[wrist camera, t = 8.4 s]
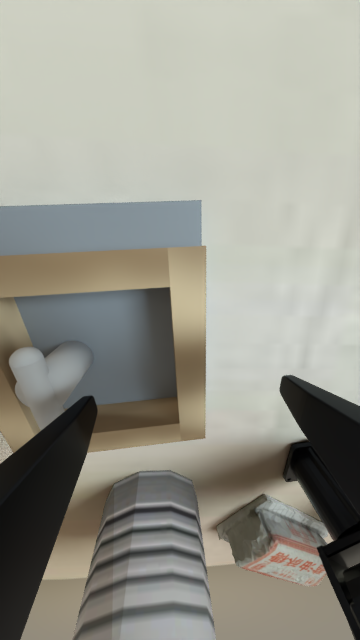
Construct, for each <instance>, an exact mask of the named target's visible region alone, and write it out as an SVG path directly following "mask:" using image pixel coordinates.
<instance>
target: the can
mask: <svg viewBox="0 0 360 640" xmlns="http://www.w3.org/2000/svg"><path fill="white" fill-rule="evenodd" d="M73 640H216V637H215V629H214V621H213V614H212V606H211V599H210V592H209V584H208V577H207V570H206V562H205V554H204V547H203V540H202V532H201V525H200V517H199V510H198V502H197V495H196V492H195V489H194V486H193V483H192V480H190V479H188V478H186V477H184V476H181V475H179V474H177V473H175V472H173V471H170V470H166V471H139V472H137V473H135V474H133V475H131V476H129V477H127V478H125V479H123V480H121V481H119V482H117V483H115V484H114V485H113V488H112V490H111V492H110V494H109V496H108V498H107V500H106V503H105V507H104V511H103V515H102V520H101V524H100V528H99V532H98V536H97V540H96V545H95V549H94V553H93V557H92V561H91V565H90V569H89V574H88V578H87V582H86V586H85V590H84V595H83V598H82V603H81V607H80V611H79V615H78V620H77V623H76V628H75V632H74V636H73Z"/></svg>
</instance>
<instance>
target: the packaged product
mask: <svg viewBox="0 0 360 640" xmlns="http://www.w3.org/2000/svg"><path fill="white" fill-rule="evenodd" d="M217 531H218V536H219V540H220V539H224V540H225V541H227V542H229V543H230V546H231V548H232V555H233V557H234V559H235V563H236V565H237V566H238V567H241V568H243V569H246V570H249V571H253V572H257V573H260V574H263V575H266V576H271V577H274V578H277V579H282V580H286V581H289V582H292V583H296V584H300V585H304V586H317V584H319V583H321V581H322V579H323V577H324V576H325V575H326V574H327V573H326V571H325V569H324V567H323V564H322V561H321V559H320V557H319V553H318V550H317V547H319V546H321V545H322V546H325V545H327V543H326V542H325V540H324V539H323V538H324V537H327V536H328V534H327V533H328V530H327V529H326V527H325V525H324V524H323V522H321V521H317V520H316V519H314V518H312V517H311V516H309V515H307V514H305V513H303V512H301V511H299V510H298V509H296V508H293V507H292V506H289V505H286V504H284V503H282V502H280V501H277V500H276V499H274V498H272V497H270V496H267V495H265V494H264V495H262V496H260V497H259V498H257V499H256V500H254V501H253V502H251V503H250V504H248V505H247V506H245V507H244V508H242V509H241V510H240V511H238V512H237V513H235V514H234V515H232V516H231V517H229V518H228V519H226V520H225V521H223V522H222V523H221V524H219V525H218V526H217Z"/></svg>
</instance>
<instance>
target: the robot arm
mask: <svg viewBox="0 0 360 640" xmlns="http://www.w3.org/2000/svg"><path fill="white" fill-rule="evenodd" d="M280 393H281V395H282V397H283V399H284V401H285V403H286V404H287V406H288V408H289V410H290V411H291V413H292V415H293V417H294V419H295V420H296V422H297V424H298V425H299V427H300V428H301V430H302V431H303V433H304V434H305V436H306V437H307V439H308V440H309V442H307V443H299V444H294V445H292V447H291V449H290V453H289V457H288V460H287V464H286V468H285V472H284V475H283V478H284V479H285V481H286V482H292V481H298V482H299V484H300V485H301V487H302V489H303V490H304V492H305V494H306V495H307V497H308V499H309V500H310V502H311V504H312V505H313V507H314V509H315V510H316V512H317V514H318V515H319V517H320V519H321V520H322V522H323V524H324V525H325V527H326V529H327V530H328V532H329V534H330V535H331V537H332V539H333V540H334V541H333V542H331V543H329V544H327V545H325V546H322V545H321V546H319V547H317V550H318V553H319V557H320V559H321V561H322V564H323V567H324V569H325V571H326V573H327V576H328V578H329V580H330V582H331V585H332V586H333V589H334V591H335V593H336V596H337V598H338V600H339V602H340V604H341V607H342V609H343V611H344V614H345V616H346V618H347V620H348V623H349V626H350V628H351V631H352V634H353V636H354V639H355V640H360V406H358V405H356V404H354V403H352V402H349V401H347V400H345V399H343V398H341V397H339V396H336V395H334V394H332V393H330V392H328V391H325V390H323V389H321V388H319V387H317V386H315V385H312V384H310V383H308V382H306V381H304V380H302V379H299V378H297V377H295V376H293V375H286V376H283V377H282V379H281V384H280ZM97 413H98V409H97V405H96V402H95V398H94V396H92V395H89V396H83V397H82V398H80V399H79V400H78V401H77V402H75V403H74V404H73V405H72V406H71V407H69V408H68V409H67V410H66V411H64V412H63V413H62V414H61V415H60V416H58V417H57V418H56V419H55V420H53V421H52V422H51V423H50V424H49V425H47V426H46V427H45V428H44V429H42V430H41V431H40V432H39V433H38V434H36V435H35V436H34V437H33V438H31V439H30V440H29V441H28V442H27V443H25V444H24V445H23V446H22V447H20V448H19V449H18V450H17V451H16V452H14V453H13V454H12V455H11V456H9V457H8V458H7V459H6V460H5V461H3V462H2V463H1V464H0V640H20V639H21V636H22V633H23V630H24V628H25V625H26V622H27V619H28V617H29V613H30V611H31V608H32V605H33V603H34V600H35V597H36V594H37V591H38V589H39V586H40V583H41V580H42V578H43V575H44V572H45V569H46V566H47V564H48V561H49V558H50V555H51V552H52V550H53V547H54V544H55V541H56V539H57V536H58V533H59V530H60V527H61V525H62V522H63V519H64V516H65V513H66V511H67V508H68V505H69V502H70V499H71V497H72V494H73V491H74V488H75V486H76V483H77V480H78V477H79V474H80V472H81V469H82V466H83V463H84V460H85V458H86V455H87V452H88V448H89V445H90V441H91V437H92V433H93V429H94V425H95V421H96V417H97ZM358 563H359V564H358ZM353 565H354V566H353ZM351 566H352V567H351ZM349 567H350V568H349Z"/></svg>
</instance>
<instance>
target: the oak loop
mask: <svg viewBox="0 0 360 640" xmlns="http://www.w3.org/2000/svg"><path fill="white" fill-rule="evenodd" d="M162 287H169V288H170V302H171V316H172V330H173V344H174V358H175V372H176V386H177V397H170V398H160V399H151V400H142V401H132V402H123V403H113V404H104V405H97V409H98V413H97V417H96V421H95V425H94V429H93V433H92V437H91V441H90V445H89V448H88V452H87V453H89V452H97V451H106V450H114V449H122V448H130V447H138V446H146V445H154V444H163V443H171V442H179V441H187V440H195V439H203V438H205V387H206V246H191V247H171V248H150V249H130V250H109V251H89V252H68V253H48V254H28V255H7V256H0V431H1V432H2V434H3V436H4V437H5V439H6V441H7V443H8V444H9V446H10V448H11V449H12V451H13V453H14V452H16V451H17V450H18V449H19V448H20V447H22V446H23V445H24V444H25V443H27V442H28V441H29V440H30V439H31V438H33V437H34V436H35V435H36V434H38V433H39V432H40V431H41V430H40V428H39V426H38V424H37V422H36V420H35V418H34V416H33V414H32V412H31V410H30V407H28V406H26V405H24V404H23V403H22V402H21V401H20V400H19V399H18V397H17V396H16V393H15V385H16V383H17V380H16V378H15V376H14V374H13V372H12V370H11V368H10V365H9V359H10V356H11V355H12V354H13V353H14V352H15V351H16V350H18V349H20V348H23V347H33V344H32V342H31V339H30V337H29V334H28V332H27V329H26V327H25V324H24V322H23V319H22V317H21V314H20V312H19V309H18V307H17V304H16V302H15V300H14V297H21V296H37V295H53V294H68V293H84V292H100V291H115V290H131V289H147V288H162ZM67 409H68V408H66V409H64V410H65V411H66V410H67Z"/></svg>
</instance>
